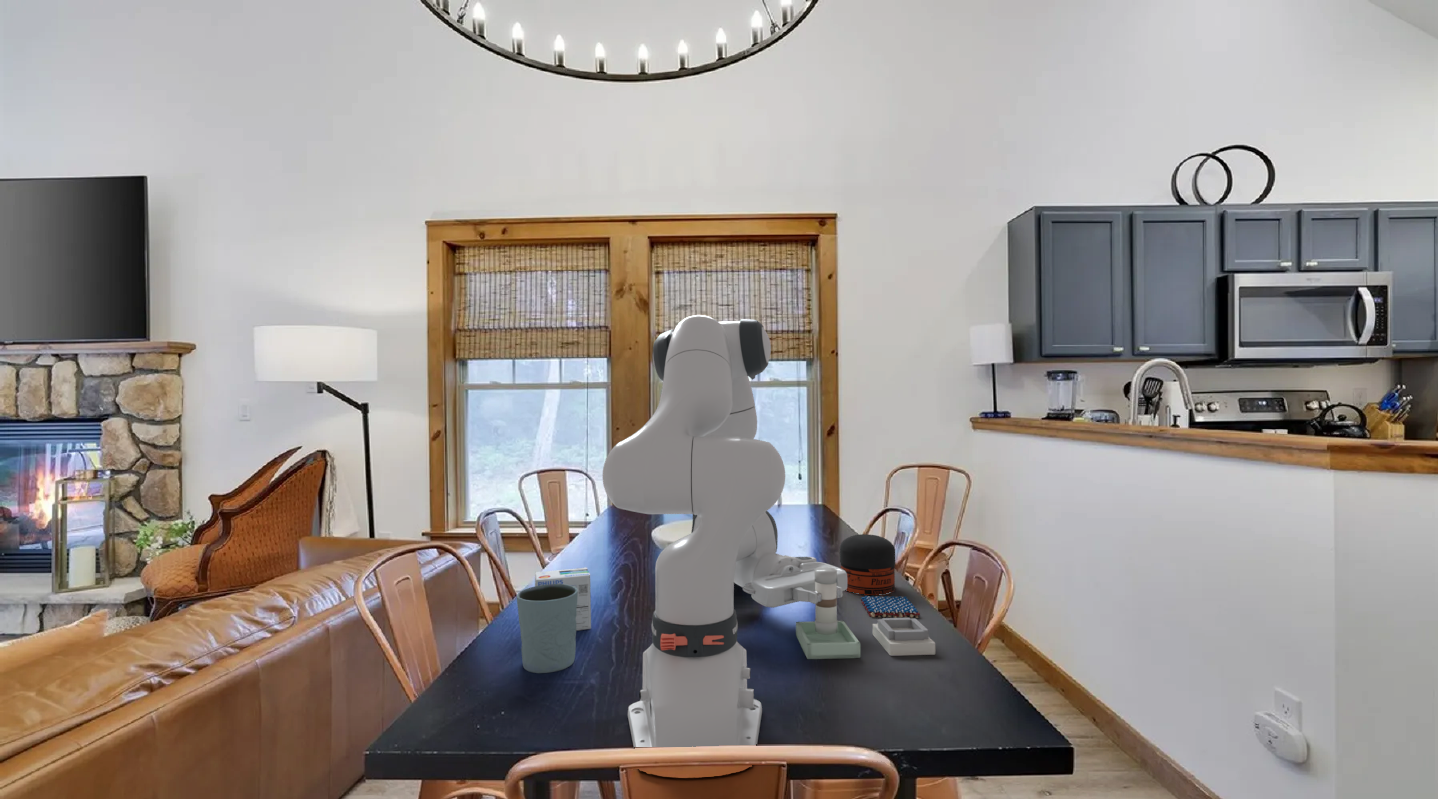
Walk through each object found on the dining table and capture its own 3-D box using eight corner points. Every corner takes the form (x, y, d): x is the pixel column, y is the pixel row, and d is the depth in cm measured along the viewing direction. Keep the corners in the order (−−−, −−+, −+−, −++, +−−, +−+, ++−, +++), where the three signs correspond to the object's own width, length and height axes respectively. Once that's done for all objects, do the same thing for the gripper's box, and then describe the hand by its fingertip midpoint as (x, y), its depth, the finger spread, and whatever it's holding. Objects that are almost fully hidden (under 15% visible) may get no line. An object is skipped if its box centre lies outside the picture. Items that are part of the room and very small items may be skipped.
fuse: (839, 634, 107) (839, 572, 107) (817, 635, 107) (817, 573, 107) (834, 626, 111) (833, 566, 111) (813, 626, 111) (812, 567, 111)
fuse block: (935, 654, 105) (935, 634, 105) (890, 655, 104) (889, 635, 104) (913, 633, 115) (913, 614, 115) (872, 634, 114) (872, 615, 114)
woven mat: (921, 620, 123) (921, 610, 123) (869, 620, 124) (869, 610, 124) (908, 604, 134) (908, 595, 134) (860, 604, 134) (859, 594, 134)
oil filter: (860, 577, 154) (829, 587, 145) (859, 529, 154) (828, 536, 145) (906, 588, 144) (876, 599, 135) (905, 536, 145) (875, 545, 136)
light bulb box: (588, 618, 124) (588, 566, 124) (591, 629, 118) (591, 574, 118) (534, 624, 121) (534, 570, 121) (535, 636, 115) (535, 579, 115)
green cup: (572, 674, 98) (572, 600, 98) (509, 676, 97) (509, 601, 97) (582, 649, 108) (582, 582, 108) (524, 651, 107) (525, 583, 107)
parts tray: (860, 657, 103) (860, 643, 104) (807, 659, 103) (807, 644, 103) (843, 633, 115) (843, 620, 115) (795, 635, 114) (795, 621, 114)
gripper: (737, 570, 114) (785, 588, 103) (817, 555, 126) (867, 569, 114) (738, 603, 114) (785, 625, 103) (817, 585, 125) (868, 603, 114)
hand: (829, 596), depth 108 cm, fingers closed on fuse, 4 cm apart
